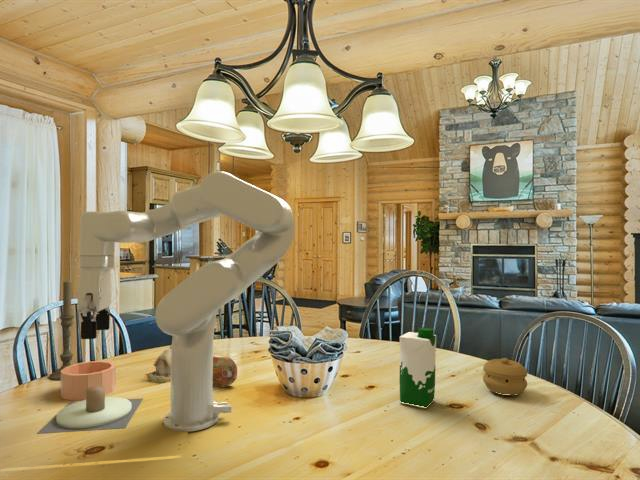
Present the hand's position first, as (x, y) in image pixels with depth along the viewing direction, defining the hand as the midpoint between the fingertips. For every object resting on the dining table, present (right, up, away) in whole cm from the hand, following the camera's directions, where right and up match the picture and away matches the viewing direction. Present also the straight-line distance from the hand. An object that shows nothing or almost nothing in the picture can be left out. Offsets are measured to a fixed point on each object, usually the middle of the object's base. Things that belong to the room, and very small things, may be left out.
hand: (95, 334), depth 103 cm
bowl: (-10, -20, +15) cm, 27 cm away
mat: (0, -20, 0) cm, 20 cm away
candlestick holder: (-25, -20, +30) cm, 44 cm away
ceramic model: (+8, -20, +30) cm, 37 cm away
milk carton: (+80, -21, +12) cm, 84 cm away
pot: (+107, -22, +20) cm, 111 cm away
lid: (0, -19, 0) cm, 19 cm away
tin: (+23, -21, +24) cm, 39 cm away
